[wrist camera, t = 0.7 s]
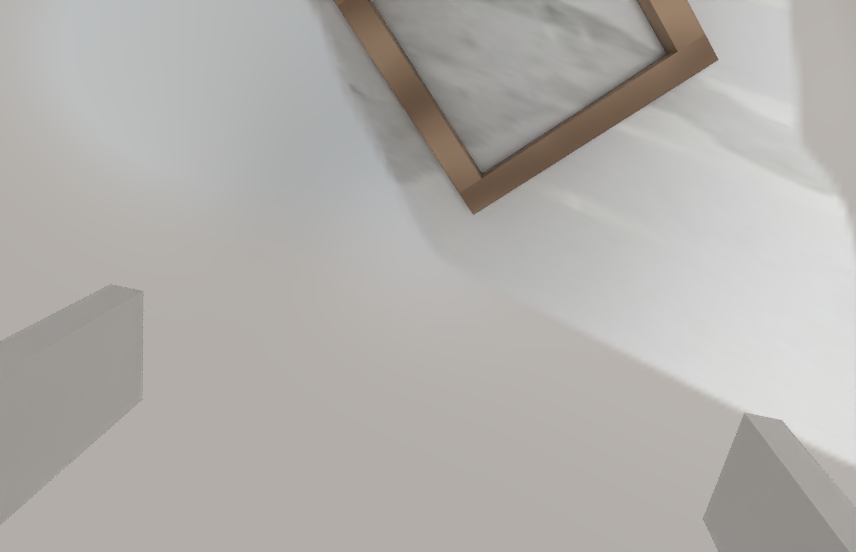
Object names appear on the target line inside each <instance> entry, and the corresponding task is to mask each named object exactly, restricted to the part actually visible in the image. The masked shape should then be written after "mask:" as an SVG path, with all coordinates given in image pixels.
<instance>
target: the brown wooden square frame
mask: <svg viewBox="0 0 856 552" xmlns="http://www.w3.org/2000/svg"><path fill="white" fill-rule="evenodd" d="M334 1H335V3H336V4H337V6H338V7H339V9H340V11H341V12H342V14H343V15H344V17H345V18H346V20H347V21H348V23H349V24H350V26H351V27H352V29H353V30H354V32H355V34H356V35H357V37H358V38H359V40H360V41H361V43H362V44H363V46H364V47H365V49H366V50H367V52H368V54H369V55H370V57H371V58H372V60H373V61H374V63H375V64H376V66H377V67H378V69H379V70H380V72H381V74H382V75H383V77H384V78H385V80H386V81H387V83H388V84H389V86H390V87H391V89H392V90H393V92H394V93H395V95H396V97H397V98H398V100H399V101H400V103H401V104H402V106H403V107H404V109H405V110H406V112H407V113H408V115H409V117H410V118H411V120H412V121H413V123H414V124H415V126H416V127H417V129H418V130H419V132H420V133H421V135H422V136H423V138H424V140H425V141H426V143H427V144H428V146H429V147H430V149H431V150H432V152H433V153H434V155H435V156H436V158H437V160H438V161H439V163H440V164H441V166H442V167H443V169H444V170H445V172H446V173H447V175H448V176H449V178H450V180H451V181H452V183H453V184H454V186H455V187H456V189H457V190H458V192H459V193H460V195H461V196H462V198H463V199H464V201H465V203H466V204H467V206H468V207H469V209H470V210H471V212H472V213H473V215H474V214H476V213H477V212H479V211H480V210H482V209H483V208H485V207H487V206H488V205H490V204H491V203H493V202H494V201H496V200H498V199H499V198H501V197H502V196H504V195H506V194H507V193H509V192H510V191H512V190H513V189H515V188H517V187H518V186H520V185H521V184H523V183H524V182H526V181H528V180H529V179H531V178H532V177H534V176H536V175H537V174H539V173H540V172H542V171H543V170H545V169H547V168H548V167H550V166H551V165H553V164H555V163H556V162H558V161H559V160H561V159H562V158H564V157H566V156H567V155H569V154H570V153H572V152H573V151H575V150H577V149H578V148H580V147H581V146H583V145H585V144H586V143H588V142H589V141H591V140H592V139H594V138H596V137H597V136H599V135H600V134H602V133H603V132H605V131H607V130H608V129H610V128H611V127H613V126H615V125H616V124H618V123H619V122H621V121H622V120H624V119H626V118H627V117H629V116H630V115H632V114H634V113H635V112H637V111H638V110H640V109H641V108H643V107H645V106H646V105H648V104H649V103H651V102H652V101H654V100H656V99H657V98H659V97H660V96H662V95H664V94H665V93H667V92H668V91H670V90H671V89H673V88H675V87H676V86H678V85H679V84H681V83H683V82H684V81H686V80H687V79H689V78H690V77H692V76H694V75H695V74H697V73H698V72H700V71H701V70H703V69H705V68H706V67H708V66H709V65H711V64H713V63H714V62H716V61H717V60H718V58H717V56H716V54H715V52H714V50H713V48H712V47H711V45H710V43H709V41H708V39H707V37H706V35H705V33H704V31H703V29H702V28H701V26H700V24H699V22H698V20H697V18H696V16H695V14H694V12H693V11H692V9H691V7H690V5H689V3H688V1H687V0H637V1H638V2H639V4H640V6H641V8H642V10H643V12H644V13H645V15H646V17H647V19H648V21H649V23H650V24H651V26H652V28H653V30H654V32H655V33H656V35H657V37H658V39H659V41H660V43H661V44H662V46H663V48H664V50H665V52H666V54H667V55H665V56H664V57H662V58H660V59H659V60H657V61H656V62H654V63H653V64H651V65H650V66H648V67H647V68H645V69H644V70H642V71H640V72H639V73H637V74H636V75H634V76H633V77H631V78H630V79H628V80H627V81H625V82H624V83H622V84H620V85H619V86H617V87H616V88H614V89H613V90H611V91H610V92H608V93H607V94H605V95H604V96H602V97H600V98H599V99H597V100H596V101H594V102H593V103H591V104H590V105H588V106H587V107H585V108H584V109H582V110H580V111H579V112H577V113H576V114H574V115H573V116H571V117H570V118H568V119H567V120H565V121H564V122H562V123H560V124H559V125H557V126H556V127H554V128H553V129H551V130H550V131H548V132H547V133H545V134H544V135H542V136H540V137H539V138H537V139H536V140H534V141H533V142H531V143H530V144H528V145H527V146H525V147H524V148H522V149H520V150H519V151H517V152H516V153H514V154H513V155H511V156H510V157H508V158H507V159H505V160H504V161H502V162H500V163H499V164H497V165H496V166H494V167H493V168H491V169H490V170H488V171H487V172H485V173H484V174H482V173H481V172H480V170H479V169H478V167H477V166H476V164H475V162H474V161H473V159H472V158H471V156H470V155H469V153H468V152H467V150H466V148H465V147H464V145H463V144H462V142H461V141H460V139H459V137H458V136H457V134H456V133H455V131H454V130H453V128H452V126H451V125H450V123H449V122H448V120H447V119H446V117H445V115H444V114H443V112H442V111H441V109H440V108H439V106H438V104H437V103H436V101H435V100H434V98H433V97H432V95H431V94H430V92H429V90H428V89H427V87H426V86H425V84H424V83H423V81H422V79H421V78H420V76H419V75H418V73H417V72H416V70H415V68H414V67H413V65H412V64H411V62H410V61H409V59H408V57H407V56H406V54H405V53H404V51H403V50H402V48H401V47H400V45H399V43H398V42H397V40H396V39H395V37H394V36H393V34H392V32H391V31H390V29H389V28H388V26H387V25H386V23H385V21H384V20H383V18H382V17H381V15H380V14H379V12H378V10H377V9H376V7H375V6H374V4H373V3H372V1H371V0H334Z"/></svg>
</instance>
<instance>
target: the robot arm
mask: <svg viewBox="0 0 856 552" xmlns="http://www.w3.org/2000/svg"><path fill="white" fill-rule="evenodd" d="M142 373H143V291H140V290H135V289H130V288H126V287H121V286H116V285H111V284H110V285H108V286H106V287H104V288H103V289H101V290H99V291H97V292H95V293H93V294H91V295H89V296H87V297H85V298H83V299H81V300H79V301H77V302H75V303H74V304H71V305H70V306H68V307H66V308H64V309H62V310H60V311H58V312H56V313H54V314H52V315H50V316H48V317H46V318H44V319H42V320H40V321H38V322H37V323H35V324H33V325H31V326H29V327H27V328H25V329H23V330H21V331H19V332H17V333H15V334H13V335H11V336H9V337H7V338H6V339H4V340H2V341H0V525H1V524H2V523H3V522H4V521H5V520H7V519H8V518H9V517H10V516H11V515H12V514H13V513H15V512H16V511H17V510H18V509H19V508H20V507H21V506H22V505H23V504H25V503H26V502H27V501H28V500H29V499H30V498H32V497H33V495H35V494H36V493H37V492H38V491H39V490H41V489H42V488H43V487H44V486H45V485H46V484H47V483H48V482H49V481H51V480H52V479H53V478H54V477H55V476H56V475H57V474H59V473H60V472H61V471H62V470H63V469H64V468H65V467H67V466H68V465H69V464H70V463H71V462H72V461H73V460H74V459H76V458H77V457H78V456H79V455H80V454H81V453H82V452H83V451H85V450H86V449H87V448H88V447H89V446H90V445H91V444H93V443H94V442H95V441H96V440H97V439H98V438H99V437H100V436H101V435H103V434H104V433H105V432H106V431H107V430H108V429H109V428H110V427H112V426H113V425H114V424H115V423H116V422H117V421H118V420H119V419H121V418H122V417H123V416H124V415H125V414H126V413H128V412H129V411H130V410H131V409H132V408H133V407H134V406H135V405H137V404H138V403H139V402H140V401H141V400H142V380H143V379H142V377H143V374H142ZM703 520H704V522H705V524H706V526H707V528H708V530H709V532H710V534H711V537H712V539H713V541H714V543H715V545H716V547H717V549H718V552H856V507H855V506H854V505H853V504H852V503H851V501H850V500H849V499H848V498H847V497H846V496H845V494H844V493H843V492H842V491H841V490H840V488H839V487H838V486H837V485H836V484H835V483H834V481H833V480H832V479H831V478H830V477H829V475H828V474H827V473H826V472H825V471H824V470H823V468H822V467H821V466H820V465H819V464H818V463H817V461H816V460H815V459H814V458H813V457H812V455H811V454H810V453H809V452H808V451H807V449H806V448H805V447H804V446H803V445H802V444H801V442H800V441H799V440H798V439H797V438H796V436H795V435H794V434H793V433H792V432H791V431H790V429H789V428H788V427H787V426H786V425H785V423H784V422H783V421H782V420H778V419H773V418H768V417H763V416H758V415H753V414H748V413H744V416H743V418H742V421H741V423H740V426H739V429H738V431H737V433H736V436H735V438H734V441H733V444H732V446H731V449H730V451H729V454H728V456H727V459H726V461H725V464H724V466H723V469H722V471H721V474H720V477H719V479H718V482H717V484H716V487H715V490H714V492H713V494H712V497H711V500H710V502H709V505H708V507H707V510H706V512H705V515H704V517H703Z"/></svg>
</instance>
